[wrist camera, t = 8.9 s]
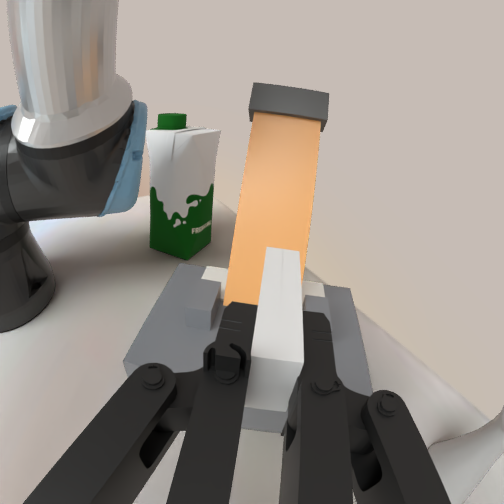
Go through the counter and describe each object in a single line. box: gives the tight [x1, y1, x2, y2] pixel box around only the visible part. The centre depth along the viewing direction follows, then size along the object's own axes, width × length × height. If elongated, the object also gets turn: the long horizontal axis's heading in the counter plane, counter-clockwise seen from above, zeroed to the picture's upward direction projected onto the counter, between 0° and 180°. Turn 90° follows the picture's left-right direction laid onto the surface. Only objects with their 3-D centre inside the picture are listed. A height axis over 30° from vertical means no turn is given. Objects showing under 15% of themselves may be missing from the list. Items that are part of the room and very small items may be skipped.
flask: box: [428, 407, 504, 504], centre depth 14 cm, size 7×7×10 cm
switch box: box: [123, 263, 373, 433], centre depth 26 cm, size 14×18×8 cm
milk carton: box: [146, 113, 221, 260], centre depth 42 cm, size 9×9×20 cm
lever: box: [223, 83, 329, 306], centre depth 25 cm, size 3×7×20 cm
